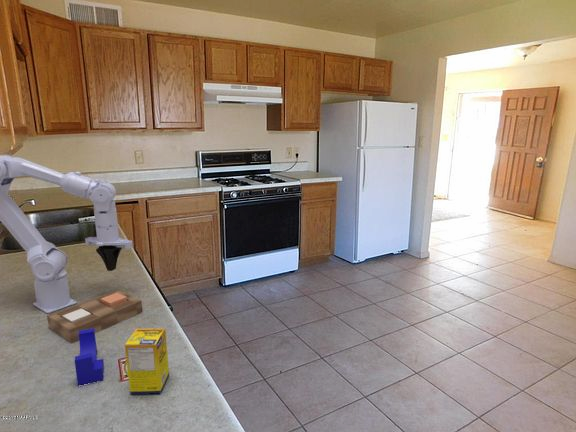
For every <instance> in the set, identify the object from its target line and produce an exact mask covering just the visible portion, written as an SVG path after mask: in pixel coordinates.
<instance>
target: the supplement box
mask: <svg viewBox="0 0 576 432" xmlns="http://www.w3.org/2000/svg"><path fill="white" fill-rule="evenodd" d="M167 343H168V342H167V334H166V328H165V327H164V328H162V327H159V328H155V327H154V328H136V329H135V330H134V332H132V334H131V336H130V337H129V339H128V340H127V341H126V342H125V344H124V348H125V357H126V358H125V359H126V367H127V368H126V369H127V377H128V384H129V393H130V395H131V394H136V395H149V394H148V393H161V394H162V391H163V390H164V388H165V385H166V383H167V381H168V378H169V376H170V371H169V357H168V347H167V345H168V344H167ZM146 393H147V394H146Z"/></svg>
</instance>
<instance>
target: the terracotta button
mask: <svg viewBox="0 0 576 432" xmlns="http://www.w3.org/2000/svg"><path fill="white" fill-rule="evenodd" d="M125 301H127V297H126V296H124V295H122V294H119V293H115V294H112V295H109V296H106V297H104V298H101V303H102V304H104V305H106V306H108V307H113V306H115V305H118V304H120V303H123V302H125Z"/></svg>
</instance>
